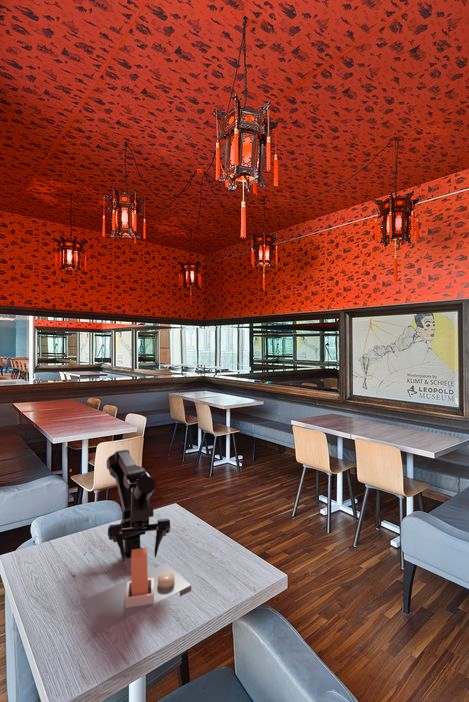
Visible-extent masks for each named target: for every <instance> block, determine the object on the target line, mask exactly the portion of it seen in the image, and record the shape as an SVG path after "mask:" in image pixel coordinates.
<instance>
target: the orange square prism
mask: <svg viewBox="0 0 469 702" xmlns="http://www.w3.org/2000/svg"><path fill="white" fill-rule="evenodd" d="M130 564H131V565H130V569H131V570H130V571H131V572H130V573H131V575H130V576H131V578H130V579H132V597H133V596H139V595H145V594H148V571H149V570H148V569H149V568H148V547H142V548H140V549H133V550H132V553H131V558H130Z"/></svg>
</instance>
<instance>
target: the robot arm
mask: <svg viewBox="0 0 469 702" xmlns="http://www.w3.org/2000/svg"><path fill="white" fill-rule="evenodd" d="M106 469H107V470H108V472H109V475H110V476H111V477H113V478H114V479H115V482H116V486H117V491H118V494H119V500H120V504H121V509H122V512H123V513H122V516H121V520H120V523H118V524H110V525H109V526H108V529H107V536H108V539H109V540H110V541H112V542H113V543H117V546H118V548H119V551H120V555H121V559H122V562H124V563H125V558H126V559H131V553H132V550H133V549H140V548H143V547H141V536H142V535H146V532H153V531H155V532H156V533H155V543H154V558H157V554H158V552H159V548H160V545H161V542H162V539H163V537H166V536H167V534H169V533H171V519H169V518H161V519H157V523H150V518H154V505H150V499H151V496H152V494H153V492H155V489H156V480H155V479H154V478H153V477H152V476H150V474H149V473H148V472H147V470H145V468H144V467H143V466H140V465H137V464H136V462H135V460H134V459H133V458H132V456H131V453H130V450H129V449H122V450H116V451H115V452H114V453H113V454H111V455H109V456H108V457H107V459H106ZM132 489H133V490H132Z"/></svg>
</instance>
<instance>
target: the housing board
mask: <svg viewBox="0 0 469 702" xmlns="http://www.w3.org/2000/svg"><path fill="white" fill-rule="evenodd" d="M191 589H192V585H191V583H189V582H188V581H187V580H186V579H185V578H184V577H183V576H182V575H181V574H180V573H178V571H176V570H175V568H173V567H171V565H169V564H168V562H166V563H163V564H161V565H159V566H157V567H154V568H152V569H150V570H148V594H145V595H139V596H133V597H132V578H130V579H128V580H126V581H123V582H121V583H118V584H117V585H115V586H112V587H110V588H108V589H105V590H103V591H100V592H98V593H95V594H94V595H91V596H90V597H87V598H85V599H82V600H81V601H80V603H81V604H82V607H83V608H84V610H85V611H86V614H88V616H89V618H90V619H91V622H92V623H93V625H94V626H95V628H96V630H97V632H98V633H100V632H102V631H105V630H106V629H108V628H110V627H113V626H114V625H117V624H118V623H121V622H122V621H124V620H126V619H128V618H130V617H132V616H134V615H136V614H138V613H140V612H142V611H144V610H146V609H148V608H149V607H152V606H154V605H156V604H157V603H159V602H161V601H164V600H165V599H167V598H169V597H171V596H173V595H175V594H177V593H178V592H179V595H180V594H183V593H185V592H187V591H189V590H191Z"/></svg>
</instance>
